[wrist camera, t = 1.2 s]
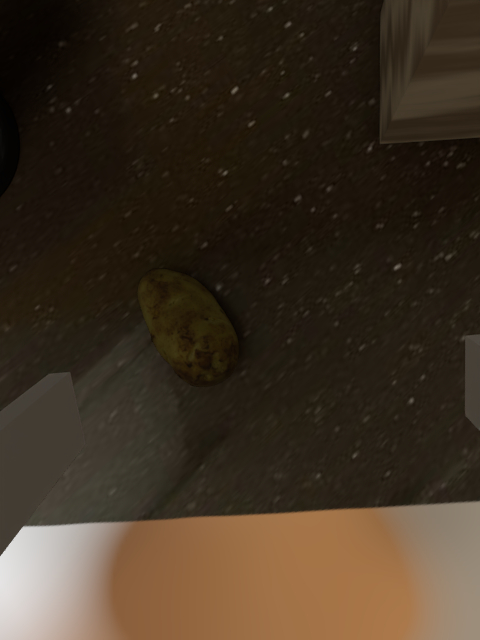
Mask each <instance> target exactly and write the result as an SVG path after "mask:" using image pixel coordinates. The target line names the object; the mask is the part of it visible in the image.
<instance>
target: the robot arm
mask: <svg viewBox="0 0 480 640" xmlns="http://www.w3.org/2000/svg"><path fill="white" fill-rule="evenodd" d="M18 155H19V137H18V130H17V126H16V122H15V119H14V116H13V114H12V112H11V110H10V108H9V106H8V104H7V103H6V101H5V100H4V99H3V97H2V96H1V95H0V195H1V194H2V193H3V192H4V190H5V189H6V188H7V186H8V185H9V183H10V181H11V179H12V177H13V174H14V172H15V169H16V165H17V161H18ZM465 415H466V416H467V418H468V419H469V420H470V421H471V422H472V423H473V424H474V425H475V426H476V427H477V428H478V429H479V430H480V335H469V336H465ZM85 445H86V442H85V437H84V433H83V428H82V424H81V419H80V414H79V410H78V405H77V401H76V396H75V392H74V387H73V383H72V378H71V374H70V372H64V373H53V374H48V375H47V376H46V377H44V378H43V379H42V380H40V381H39V382H38V383H36V384H35V385H34V386H33V387H31V388H30V389H29V390H27V391H26V392H25V393H23V394H22V395H21V396H20V397H18V398H17V399H16V400H14V401H13V402H12V403H10V404H9V405H8V406H7V407H5V408H4V409H3V410H1V411H0V556H1V554H2V553H3V552H4V550H5V549H6V548H7V547H8V545H9V544H10V543H11V541H12V540H13V539H14V537H15V536H16V535H17V533H18V532H19V531H20V530H21V528H22V527H23V526H24V524H25V523H26V522H27V520H28V519H29V518H30V517H31V515H32V514H33V513H34V511H35V510H36V509H37V507H38V506H39V505H40V503H41V502H42V501H43V500H44V498H45V497H46V496H47V494H48V493H49V492H50V490H51V489H52V488H53V486H54V485H55V484H56V483H57V481H58V480H59V479H60V477H61V476H62V475H63V473H64V472H65V471H66V469H67V468H68V467H69V466H70V464H71V463H72V462H73V460H74V459H75V458H76V456H77V455H78V454H79V452H80V451H81V450H82V449H83V447H84V446H85Z"/></svg>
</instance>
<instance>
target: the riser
mask: <svg viewBox="0 0 480 640" xmlns="http://www.w3.org/2000/svg"><path fill="white" fill-rule="evenodd" d="M478 137H480V0H384V2H383V6H382V10H381V14H380V144H388V143H403V142H418V141H433V140H448V139H463V138H478Z"/></svg>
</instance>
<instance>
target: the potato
mask: <svg viewBox="0 0 480 640" xmlns="http://www.w3.org/2000/svg"><path fill="white" fill-rule="evenodd" d="M137 296H138V301H139V305H140V308H141V311H142V314H143V317H144V319H145V321H146V324H147V327H148V329H149V332H150V335H151V340H152V342H153V343H154V345H155V347H156V349H157V351H158V352H159V353H160V355H161V356H162V357H163V358H164V360H166V361H167V362H168V363H169V364H170V365H171V366H172V368H173V370H174V371H175V373H176V374H177V375H178V376H179V377H180V378H181V379H182V380H184V381H185V382H187V383H188V384H190V385H192V386H197V387H207V386H213V385H216V384H218V383H220V382H222V381H224V380H225V379H227V378H228V377H229V376H230V375H231V374H232V373H233V371H234V369H235V367H236V364H237V361H238V359H239V344H238V339H237V335H236V331H235V330H234V328H233V326H232V324H231V322H230V320H229V319H228V317H227V315H226V314H225V312H224V311H223V310H222V308H221V307H220V306H219V304H218V303H217V301H216V299H215V298H214V296H213V295H212V294H211V293H210V291H208V290H207V289H206V288H205V287H204V286H203V285H202V284H201V283H200V282H198V281H197V280H196V279H194V278H192V277H191V276H189V275H187V274H184V273H181V272H176V271H173V270H169V269H163V268H155V269H152V270H150V271H148V272H147V273H146V274H145V275H144V276H143V277H142V279H141V280H140V282H139V285H138V290H137Z"/></svg>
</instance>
